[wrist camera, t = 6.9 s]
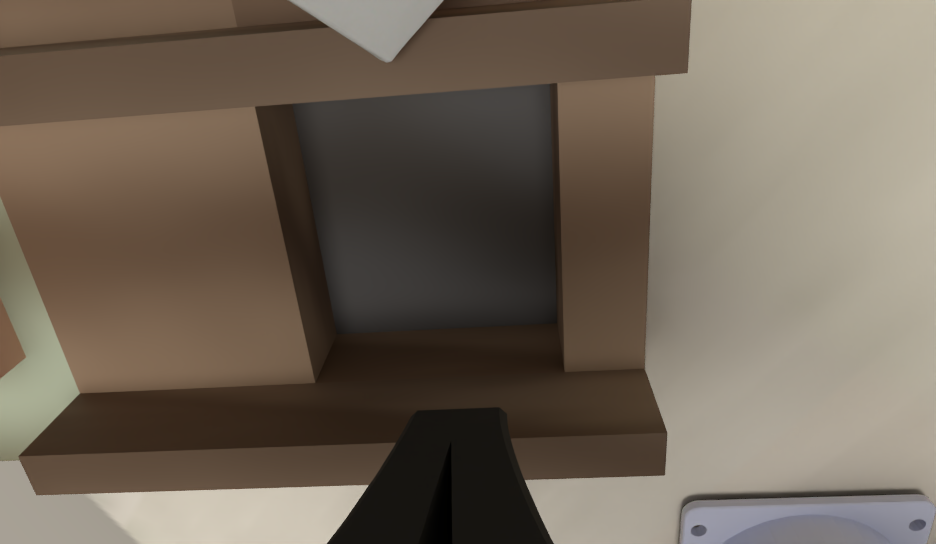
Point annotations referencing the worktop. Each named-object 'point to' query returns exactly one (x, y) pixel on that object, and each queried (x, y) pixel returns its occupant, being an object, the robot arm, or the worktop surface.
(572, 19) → the trap channel
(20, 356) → the block
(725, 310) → the worktop surface
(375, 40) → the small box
